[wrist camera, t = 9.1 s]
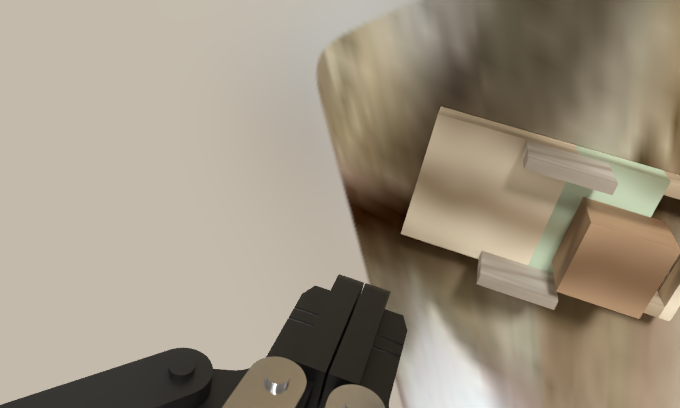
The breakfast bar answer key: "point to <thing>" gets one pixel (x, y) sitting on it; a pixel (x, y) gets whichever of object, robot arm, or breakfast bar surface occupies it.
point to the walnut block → (613, 257)
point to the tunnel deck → (523, 202)
